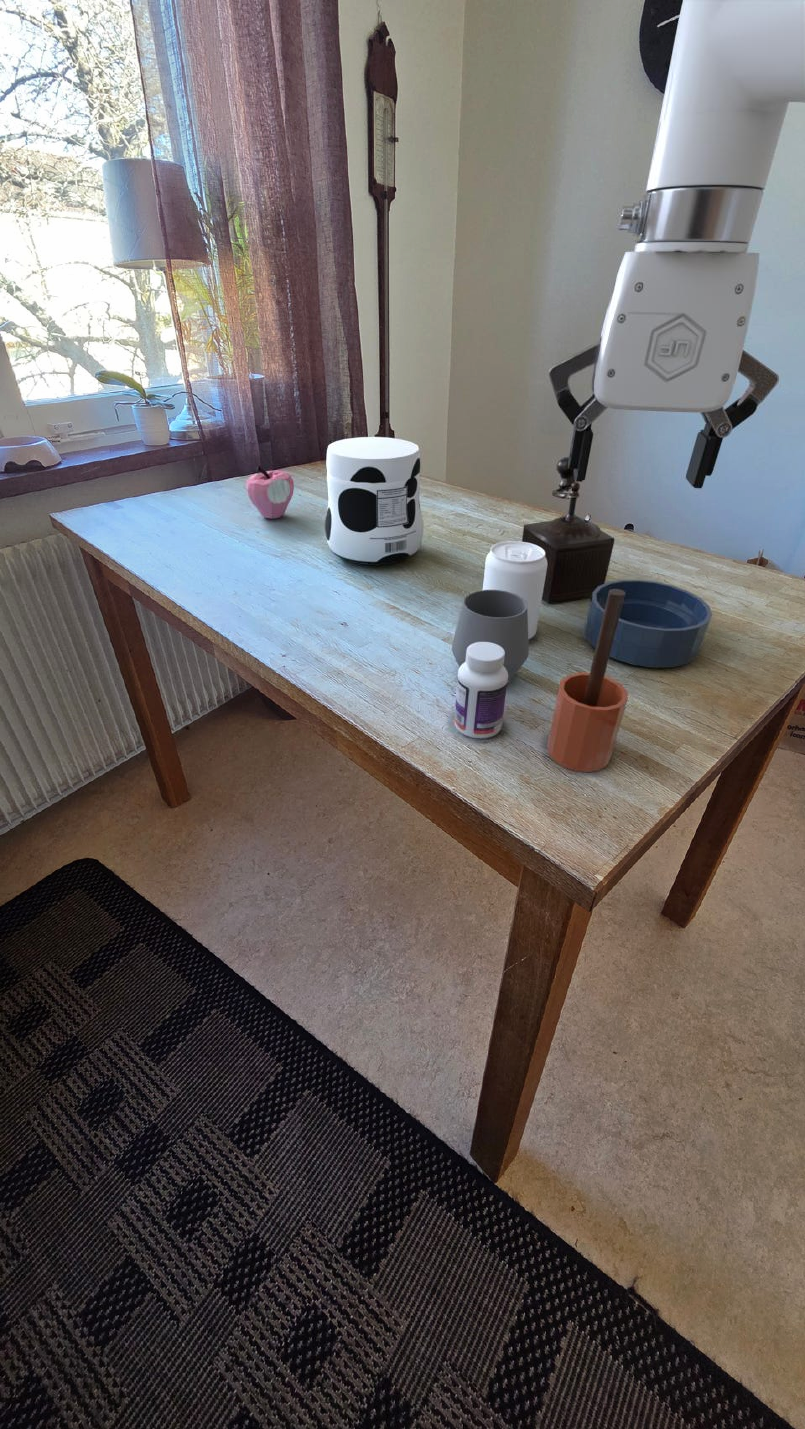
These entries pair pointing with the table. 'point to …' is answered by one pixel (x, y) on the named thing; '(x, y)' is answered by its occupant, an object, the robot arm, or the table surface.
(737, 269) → the robot arm
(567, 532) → the manual coffee grinder
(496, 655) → the pill bottle
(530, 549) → the beverage can
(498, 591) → the cup
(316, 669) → the table surface
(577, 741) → the utensil pot
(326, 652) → the table surface
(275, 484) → the apple
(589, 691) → the stirring stick
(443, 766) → the table surface
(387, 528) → the milk container
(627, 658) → the bowl
